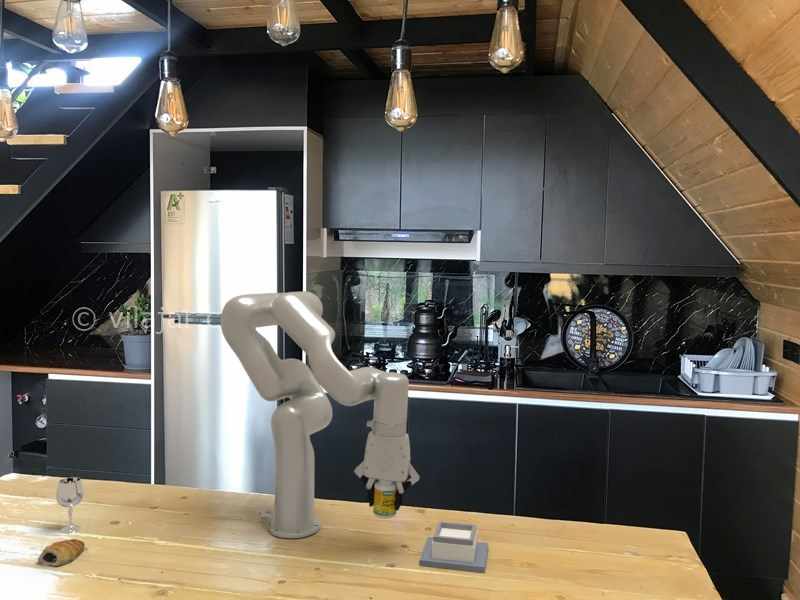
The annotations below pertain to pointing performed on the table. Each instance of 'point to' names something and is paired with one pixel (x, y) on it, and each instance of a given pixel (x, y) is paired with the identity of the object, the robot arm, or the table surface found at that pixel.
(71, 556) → the pastry
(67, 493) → the wineglass
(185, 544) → the table surface
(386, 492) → the supplement bottle
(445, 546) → the display stand
